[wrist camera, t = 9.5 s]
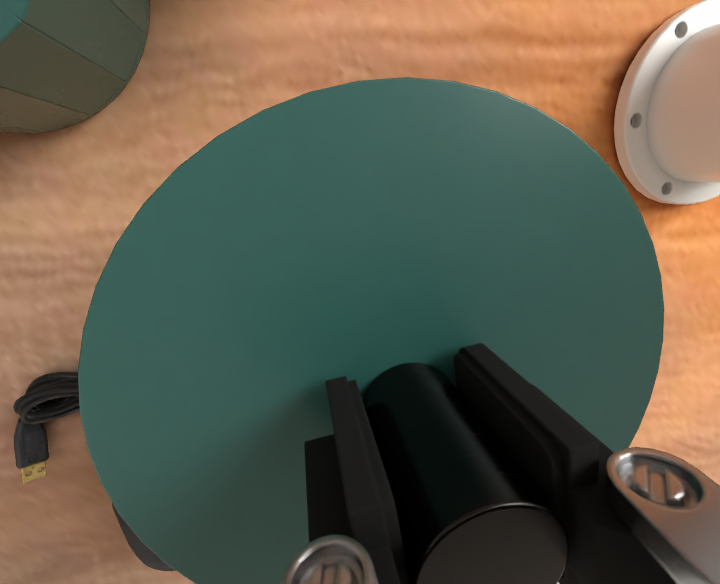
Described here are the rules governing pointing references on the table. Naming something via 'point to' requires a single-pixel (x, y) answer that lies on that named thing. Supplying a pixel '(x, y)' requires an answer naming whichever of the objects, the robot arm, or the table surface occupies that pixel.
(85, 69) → the tin
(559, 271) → the tin lid
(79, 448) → the table surface
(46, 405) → the computer mouse
